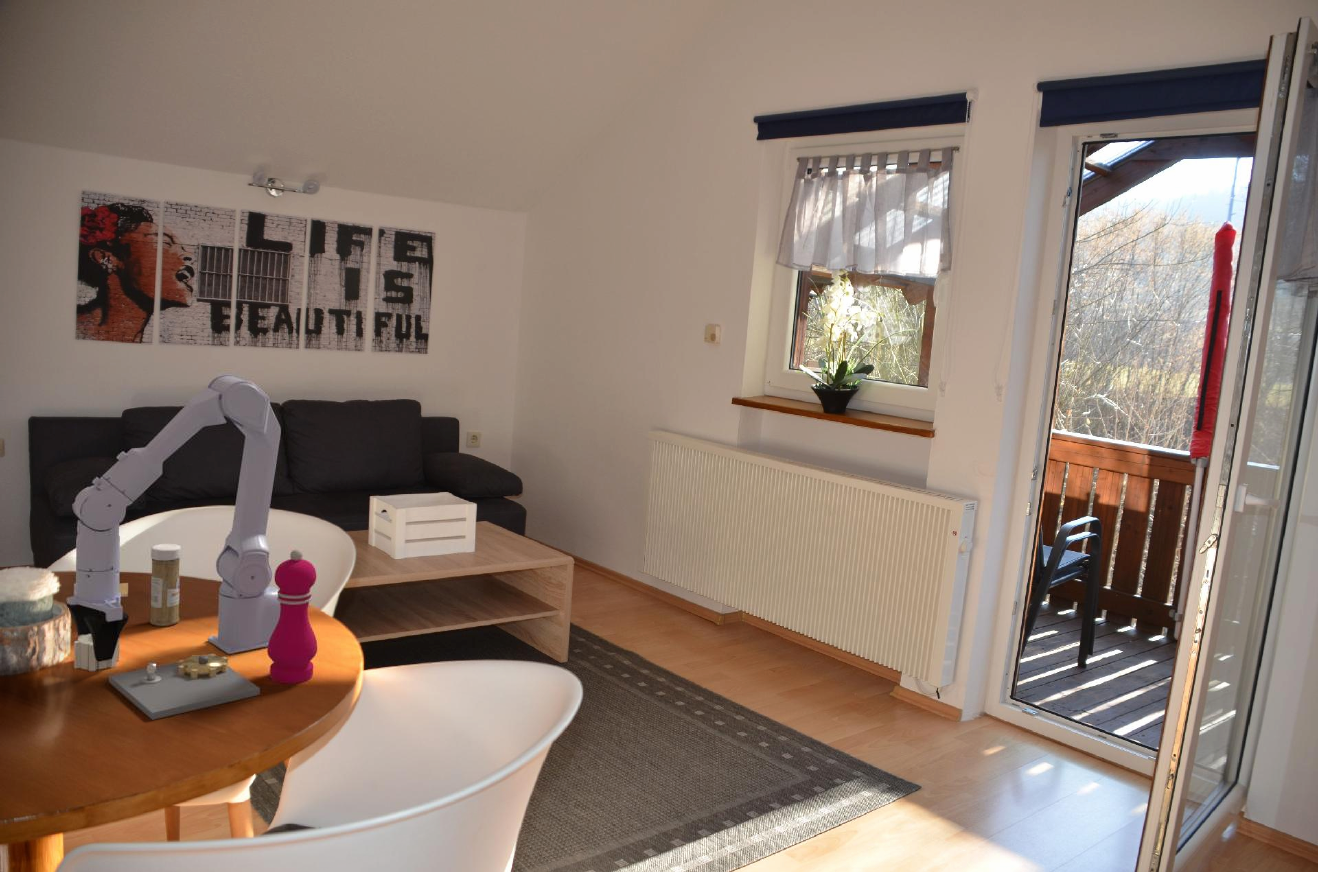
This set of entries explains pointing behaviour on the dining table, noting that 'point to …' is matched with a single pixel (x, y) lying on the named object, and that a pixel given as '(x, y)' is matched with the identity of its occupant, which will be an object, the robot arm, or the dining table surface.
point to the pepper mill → (293, 622)
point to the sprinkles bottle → (165, 584)
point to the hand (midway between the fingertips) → (96, 653)
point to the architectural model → (123, 589)
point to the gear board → (183, 685)
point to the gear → (91, 655)
